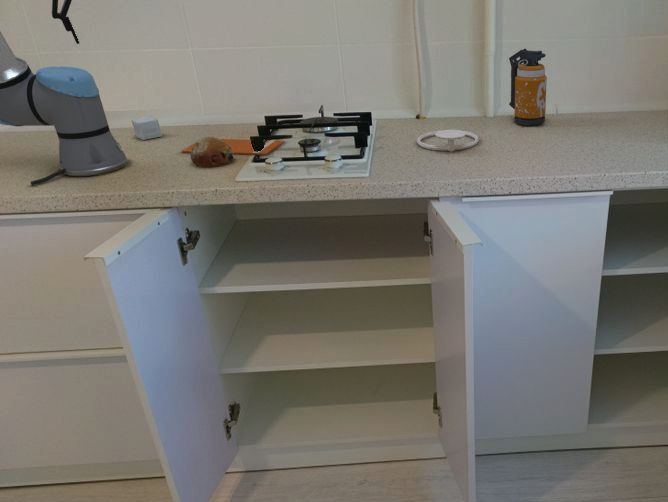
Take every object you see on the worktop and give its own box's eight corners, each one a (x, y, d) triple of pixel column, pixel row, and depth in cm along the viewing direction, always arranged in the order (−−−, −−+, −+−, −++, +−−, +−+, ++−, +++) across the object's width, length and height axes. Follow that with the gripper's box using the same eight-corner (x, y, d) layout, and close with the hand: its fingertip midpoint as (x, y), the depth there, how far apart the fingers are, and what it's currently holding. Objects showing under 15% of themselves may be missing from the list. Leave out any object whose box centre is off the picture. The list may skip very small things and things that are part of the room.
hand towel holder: (474, 116, 187) (485, 136, 170) (474, 132, 190) (485, 153, 173) (413, 119, 186) (418, 139, 168) (414, 135, 188) (419, 157, 171)
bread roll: (223, 168, 178) (207, 139, 176) (245, 156, 172) (229, 126, 169) (194, 179, 171) (177, 149, 168) (216, 167, 165) (199, 136, 162)
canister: (536, 128, 192) (539, 53, 181) (502, 124, 197) (503, 50, 186) (550, 121, 198) (553, 48, 187) (516, 117, 203) (518, 45, 192)
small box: (154, 133, 196) (150, 115, 194) (162, 136, 193) (158, 119, 190) (135, 137, 193) (130, 119, 190) (143, 140, 190) (138, 123, 187)
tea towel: (266, 155, 175) (266, 153, 175) (182, 152, 179) (181, 150, 178) (284, 142, 185) (283, 140, 185) (203, 140, 189) (203, 138, 188)
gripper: (115, -57, 183) (145, 24, 199) (17, -41, 176) (55, 42, 191) (119, -50, 179) (149, 32, 194) (18, -34, 171) (57, 51, 187)
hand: (102, 37), depth 193 cm, fingers open, 13 cm apart
